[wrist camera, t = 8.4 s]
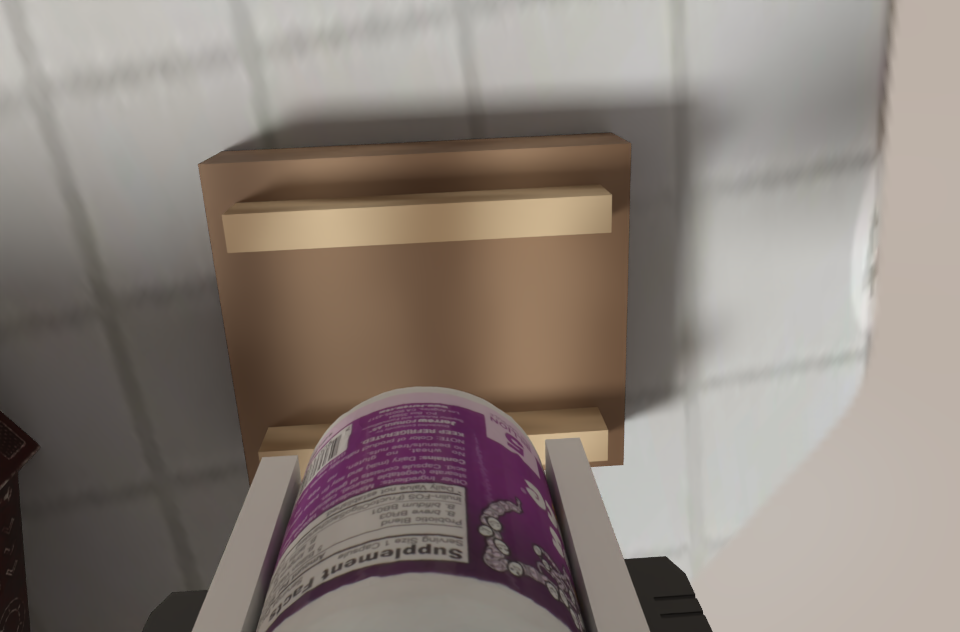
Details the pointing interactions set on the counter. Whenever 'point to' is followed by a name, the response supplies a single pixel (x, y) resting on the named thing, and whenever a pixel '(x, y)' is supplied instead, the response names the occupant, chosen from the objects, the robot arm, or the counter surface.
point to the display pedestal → (425, 282)
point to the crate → (12, 527)
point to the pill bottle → (423, 526)
